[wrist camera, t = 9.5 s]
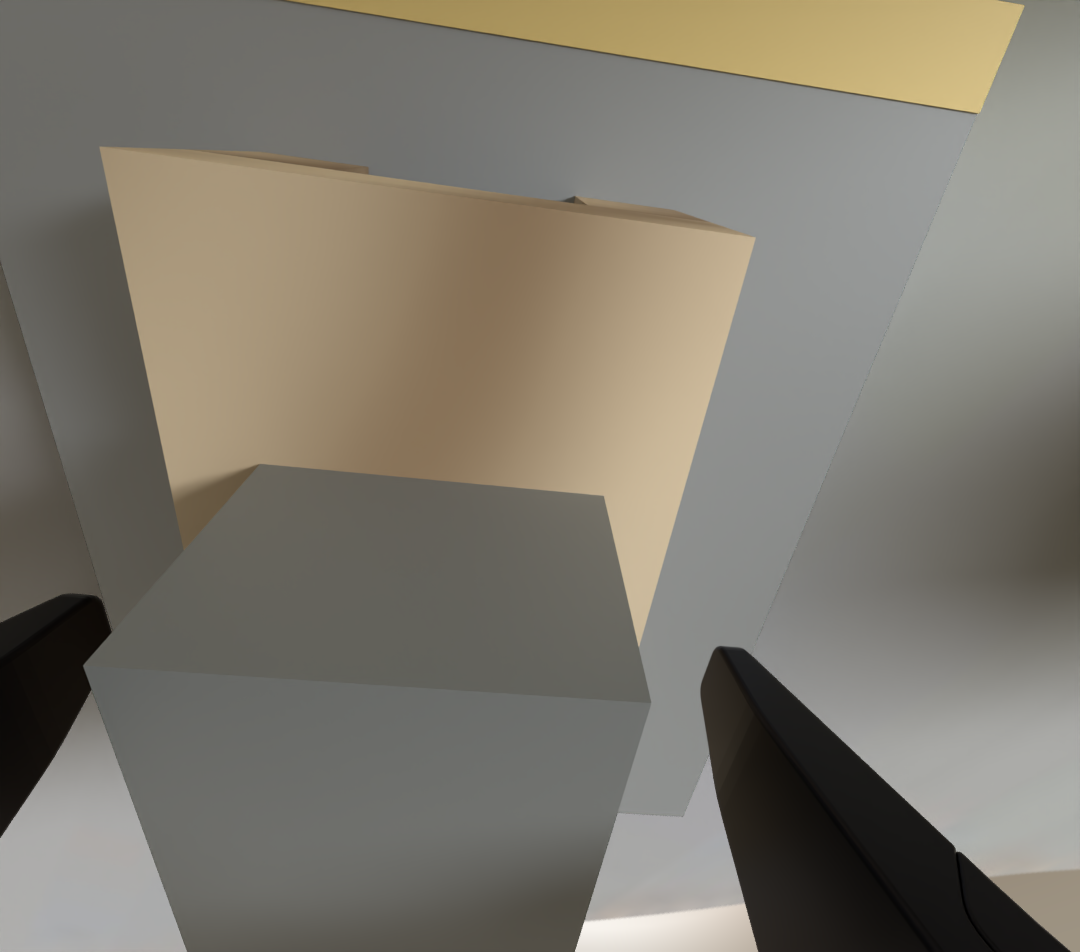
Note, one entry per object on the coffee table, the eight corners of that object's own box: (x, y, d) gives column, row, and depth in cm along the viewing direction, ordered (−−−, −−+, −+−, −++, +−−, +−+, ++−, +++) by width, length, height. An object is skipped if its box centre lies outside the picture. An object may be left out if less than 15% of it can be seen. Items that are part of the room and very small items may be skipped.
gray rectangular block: (603, 496, 7) (651, 702, 4) (542, 797, 10) (548, 1034, 7) (260, 464, 7) (81, 666, 4) (301, 786, 9) (214, 1026, 7)
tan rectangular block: (674, 209, 9) (755, 237, 6) (560, 735, 14) (568, 893, 11) (261, 151, 8) (98, 146, 5) (313, 719, 14) (252, 879, 11)
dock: (910, 39, 10) (1024, 5, 7) (664, 738, 18) (683, 818, 16) (29, -112, 9) (-146, -207, 6) (207, 707, 17) (159, 788, 15)
